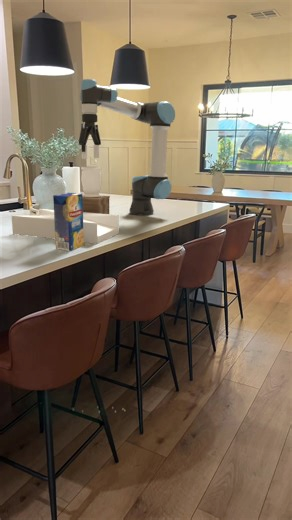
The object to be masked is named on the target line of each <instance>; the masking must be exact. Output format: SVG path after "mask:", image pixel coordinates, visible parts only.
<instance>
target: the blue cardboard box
mask: <svg viewBox="0 0 292 520" xmlns="http://www.w3.org/2000/svg"><path fill="white" fill-rule="evenodd" d="M82 195H83V193H81V192H79V193H76V192H63V193H59V194H53V196H52V197H53V200H52V201H53V210H54V221H55V239H54V240H55V250H59V249H62V250H61V251H66V250H69V251H68V252H71V251H74V250H76V249H78V248H80V246H81V247H83V246H85V242H84V232H83V197H82ZM73 249H74V250H73Z"/></svg>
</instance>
